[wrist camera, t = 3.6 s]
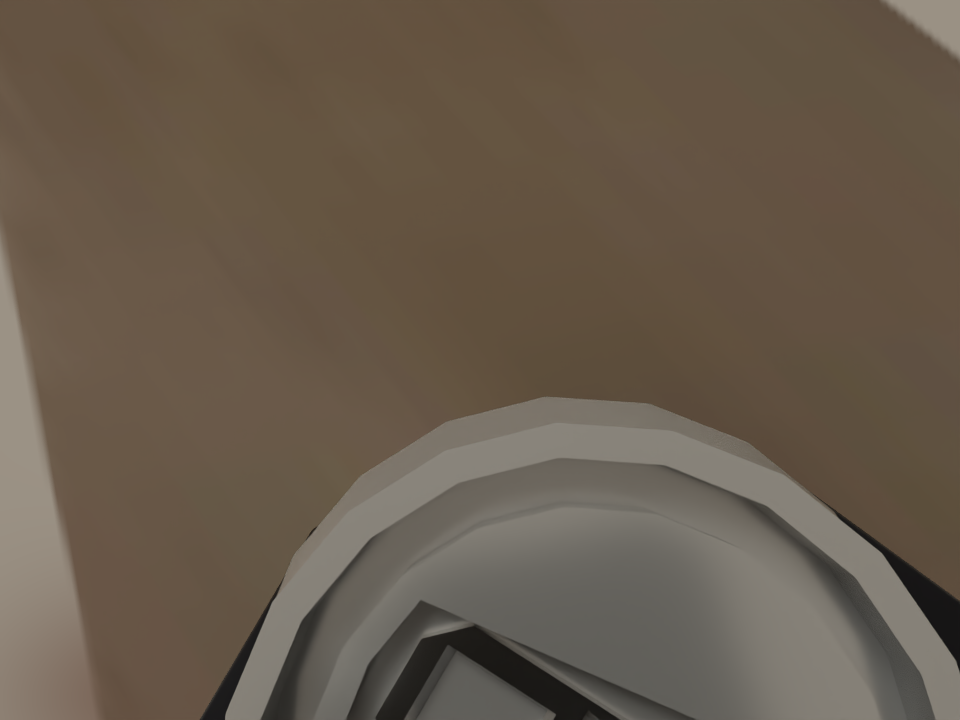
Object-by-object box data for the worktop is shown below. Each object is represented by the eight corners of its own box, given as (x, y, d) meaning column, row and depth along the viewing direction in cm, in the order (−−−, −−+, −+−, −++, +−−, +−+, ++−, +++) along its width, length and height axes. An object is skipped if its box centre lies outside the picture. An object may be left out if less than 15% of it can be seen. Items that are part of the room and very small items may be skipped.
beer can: (383, 570, 16) (18, 950, 4) (496, 380, 17) (451, 243, 5) (576, 693, 16) (773, 1520, 4) (689, 494, 16) (1196, 671, 4)
